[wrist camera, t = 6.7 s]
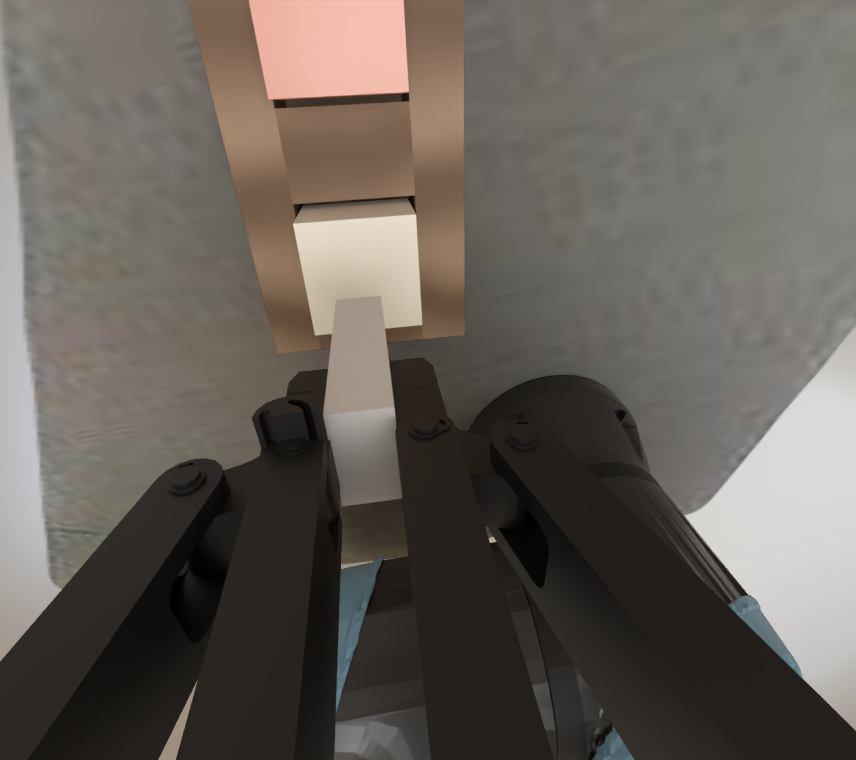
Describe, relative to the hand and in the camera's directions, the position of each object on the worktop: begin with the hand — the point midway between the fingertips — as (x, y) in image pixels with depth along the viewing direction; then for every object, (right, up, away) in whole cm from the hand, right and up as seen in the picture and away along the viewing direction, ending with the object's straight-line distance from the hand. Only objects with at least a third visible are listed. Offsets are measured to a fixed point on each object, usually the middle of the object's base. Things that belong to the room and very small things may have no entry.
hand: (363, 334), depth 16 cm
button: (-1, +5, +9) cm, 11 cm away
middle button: (-2, +14, +4) cm, 15 cm away
